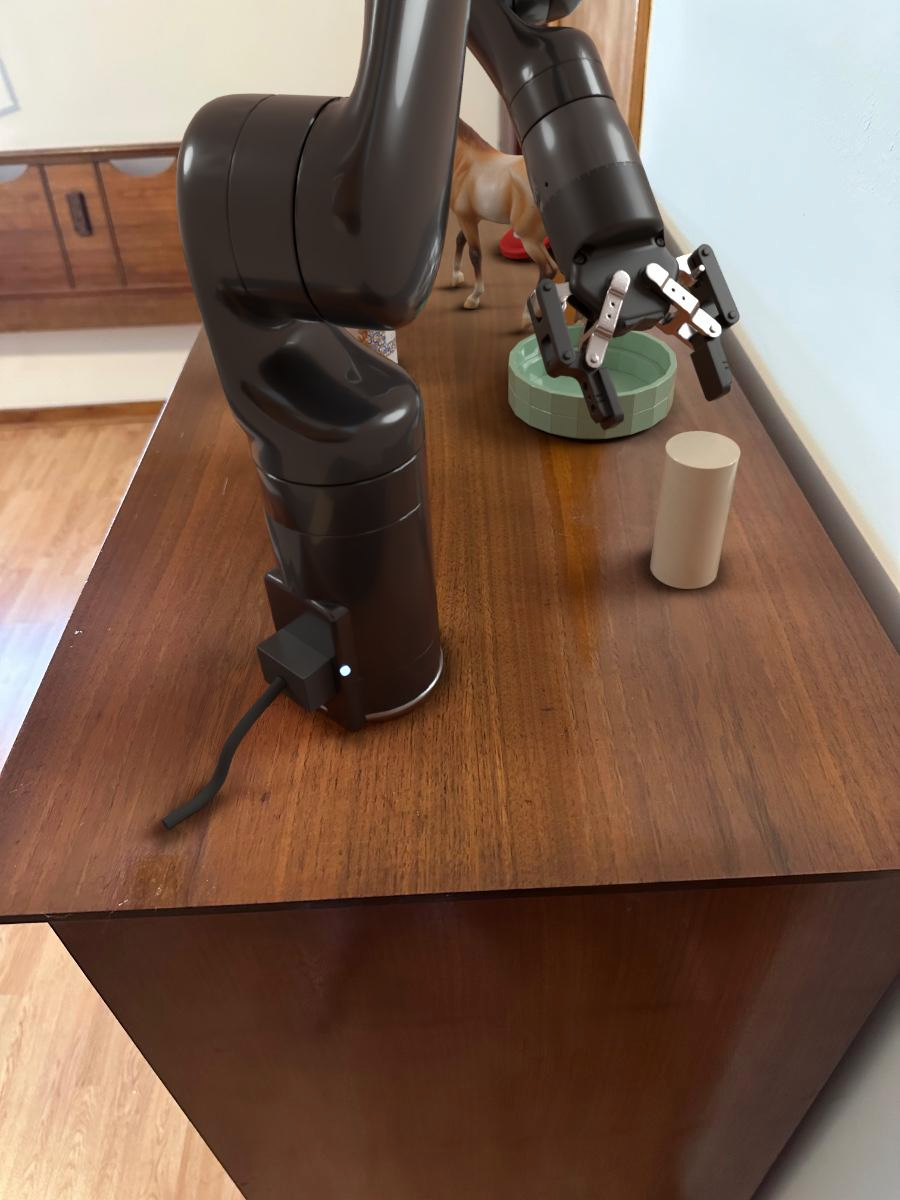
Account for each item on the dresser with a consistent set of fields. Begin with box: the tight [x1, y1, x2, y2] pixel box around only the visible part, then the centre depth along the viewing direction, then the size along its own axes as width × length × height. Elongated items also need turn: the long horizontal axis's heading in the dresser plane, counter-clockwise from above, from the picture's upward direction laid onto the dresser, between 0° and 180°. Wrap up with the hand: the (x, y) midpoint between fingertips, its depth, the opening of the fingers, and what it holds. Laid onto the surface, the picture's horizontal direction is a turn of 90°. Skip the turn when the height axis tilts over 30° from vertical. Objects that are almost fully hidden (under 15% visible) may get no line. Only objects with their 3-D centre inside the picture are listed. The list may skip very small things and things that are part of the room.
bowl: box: [507, 324, 678, 440], centre depth 83 cm, size 15×15×4 cm
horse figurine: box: [450, 116, 586, 331], centre depth 94 cm, size 31×8×21 cm, turn 39°
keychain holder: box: [499, 227, 551, 260], centre depth 114 cm, size 12×4×10 cm
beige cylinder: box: [649, 430, 742, 590], centre depth 61 cm, size 5×5×10 cm
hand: (668, 411), depth 61 cm, fingers open, 8 cm apart
